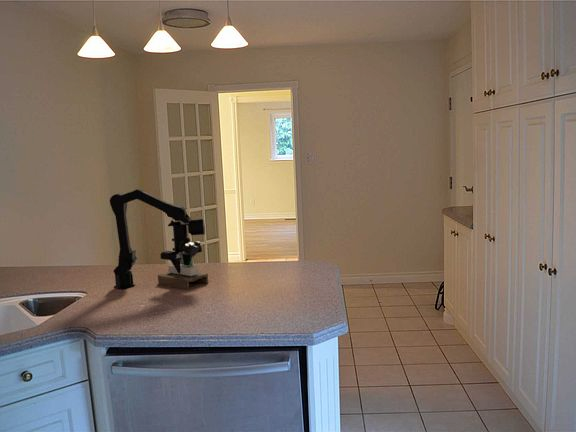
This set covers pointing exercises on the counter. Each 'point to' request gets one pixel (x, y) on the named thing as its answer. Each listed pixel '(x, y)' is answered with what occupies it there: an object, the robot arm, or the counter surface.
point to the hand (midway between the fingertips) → (183, 271)
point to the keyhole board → (181, 279)
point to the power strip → (184, 270)
